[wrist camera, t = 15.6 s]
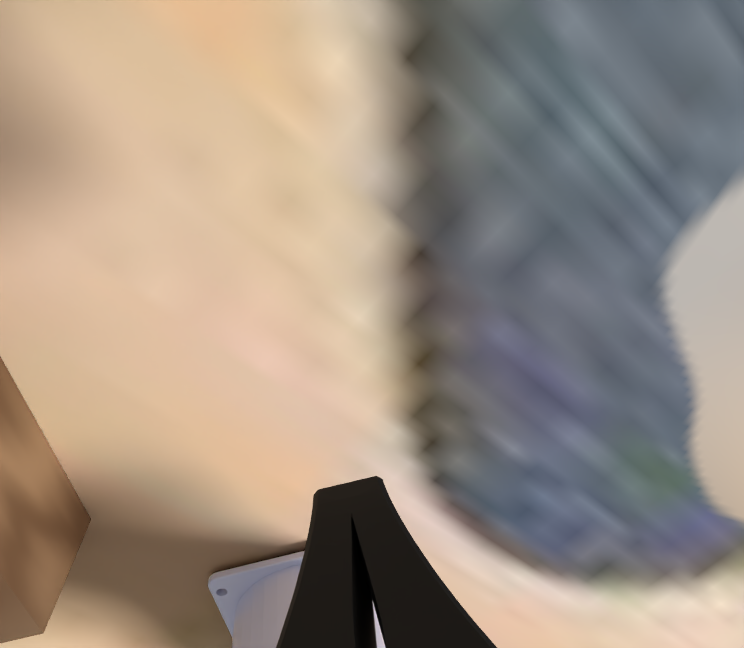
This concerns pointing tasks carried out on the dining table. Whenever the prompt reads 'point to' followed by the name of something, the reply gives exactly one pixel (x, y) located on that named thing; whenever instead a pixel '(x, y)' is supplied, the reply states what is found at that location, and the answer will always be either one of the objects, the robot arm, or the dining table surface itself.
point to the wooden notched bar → (32, 519)
